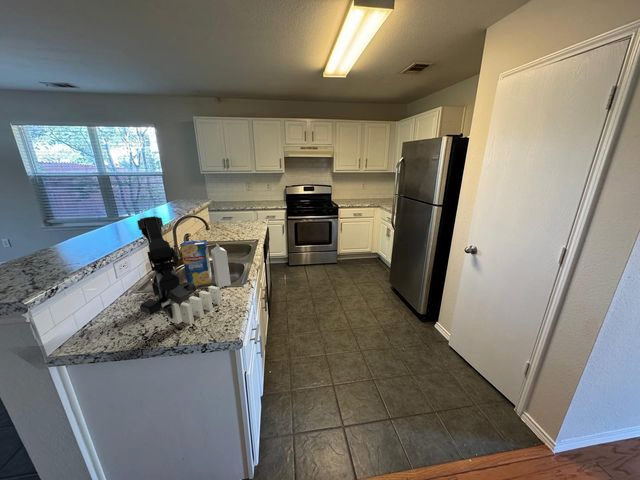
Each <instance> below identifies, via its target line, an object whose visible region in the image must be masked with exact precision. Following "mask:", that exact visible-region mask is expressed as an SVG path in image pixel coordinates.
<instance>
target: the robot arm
mask: <svg viewBox="0 0 640 480" xmlns="http://www.w3.org/2000/svg"><path fill="white" fill-rule="evenodd" d="M136 223H137V227H138V231H141V232H140V233H141V234H142V235H143V236H144V237H145V238H146V239H147V242H148V247H147V248H148V251H147V258H148V261H149V265H150V269H151V272H154V274H153V275H152V282H151V287H152V292H153V295H154V297H157V298H158V299H156V300H155V299H152V298H150V299H149V300H146V301H144V302H142V303H140V305H139V311H140V312H141V313H143V314H144V313H145V314H147V315H155V314H156V313H158V312H160V311H161V310H162V311H163V312H164V313H165V314H166V315H167V318H168V317H169V318H171V319H172V318H173V315H172V310H171V306H172V304H169V300H170V301H174V302H176V303H177V304H179V308H180V305H181V303H182V302H184V303H185V302H186V301H189V298H190V296H191V295H192V294H193V293H195V292H197V285H195V284H192V283H188V282H187V281H185V282H183V283H181V284H180V279H179V278H180V277H178V275H177V272H176V271H175V269H174V267H178V263H179V259H178V255H177V252H176V249H175V248H174V247H171V245H170V243H169V241H167V240H165V239H164V237H163V234H162V232H163V230H162V228H163V227H164V223H163V219H162V217H160V216H156V215H153V216H145V217H142V218H139V219H138V220H137V221H136Z"/></svg>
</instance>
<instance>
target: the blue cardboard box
mask: <svg viewBox="0 0 640 480" xmlns="http://www.w3.org/2000/svg"><path fill="white" fill-rule="evenodd" d="M208 247H209V246H208V241H207V239H201V240H200V239H199V240H187V241H186V240H185V241H183V242H182V244H180V250H181V251H180V252H181V255H182V261H183V266H184V272H185V277H186V282H188V283H192V284H195V286H200V285H207V284H208V285H209V284H211V282H212V280H213V275H212V274H213V273H212V267H211V261H210V254H209V248H208Z"/></svg>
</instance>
